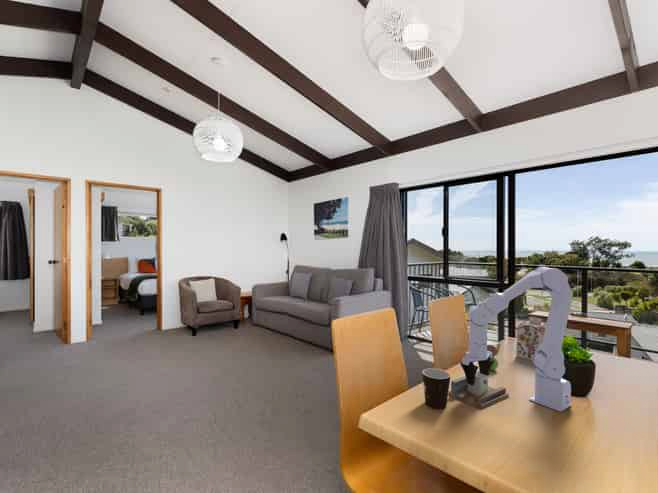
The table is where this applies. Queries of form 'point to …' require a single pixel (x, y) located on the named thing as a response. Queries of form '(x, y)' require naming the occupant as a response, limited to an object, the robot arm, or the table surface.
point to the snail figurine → (494, 354)
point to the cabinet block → (479, 385)
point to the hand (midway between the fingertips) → (477, 381)
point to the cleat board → (478, 401)
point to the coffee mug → (436, 387)
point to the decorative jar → (529, 337)
